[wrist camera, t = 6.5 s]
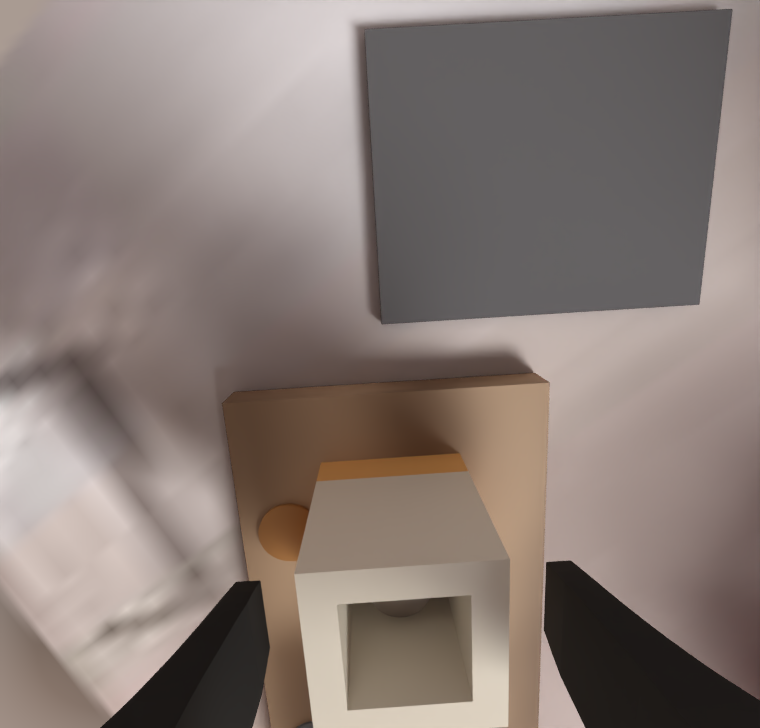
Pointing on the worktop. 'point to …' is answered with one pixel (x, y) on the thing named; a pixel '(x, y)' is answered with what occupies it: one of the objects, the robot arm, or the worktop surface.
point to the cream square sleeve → (403, 597)
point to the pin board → (376, 441)
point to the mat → (544, 163)
